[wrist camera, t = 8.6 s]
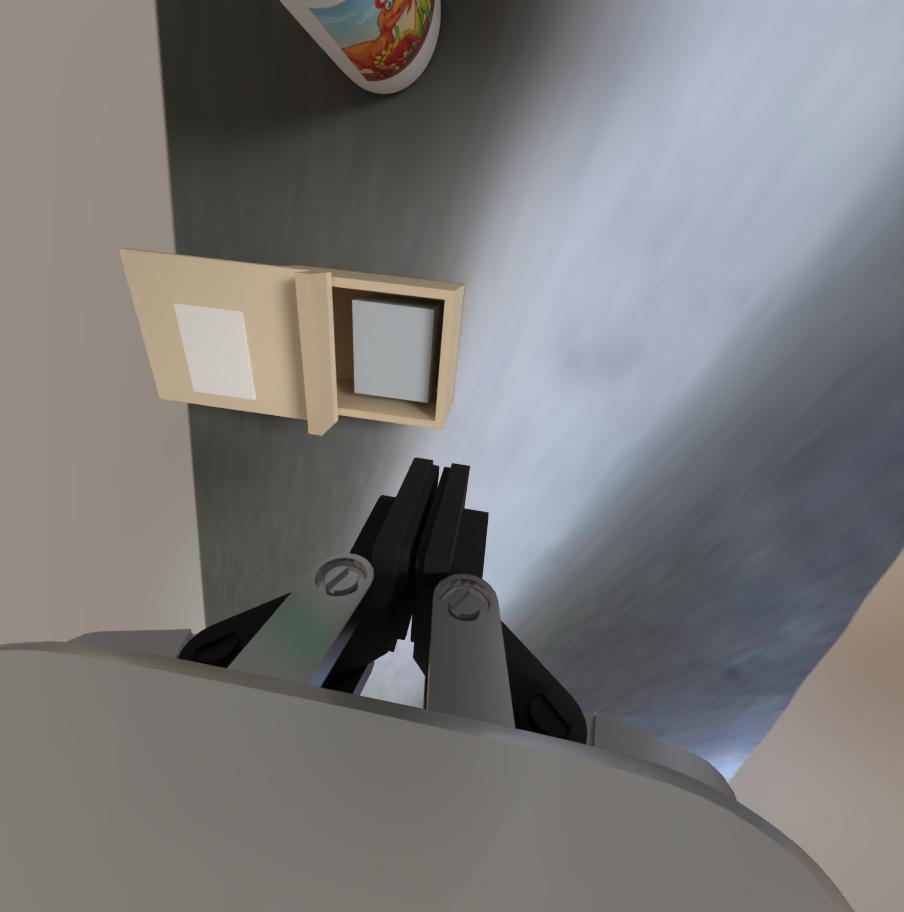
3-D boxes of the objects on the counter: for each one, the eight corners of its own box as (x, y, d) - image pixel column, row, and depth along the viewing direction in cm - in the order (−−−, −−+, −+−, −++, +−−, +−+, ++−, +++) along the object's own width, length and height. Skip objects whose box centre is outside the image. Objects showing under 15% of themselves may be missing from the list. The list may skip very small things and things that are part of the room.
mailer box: (465, 284, 31) (454, 291, 25) (453, 399, 36) (441, 429, 30) (300, 265, 32) (251, 267, 26) (309, 380, 37) (270, 405, 31)
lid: (331, 272, 25) (310, 274, 23) (338, 419, 30) (322, 435, 28) (128, 248, 26) (86, 247, 24) (167, 395, 31) (136, 408, 29)
